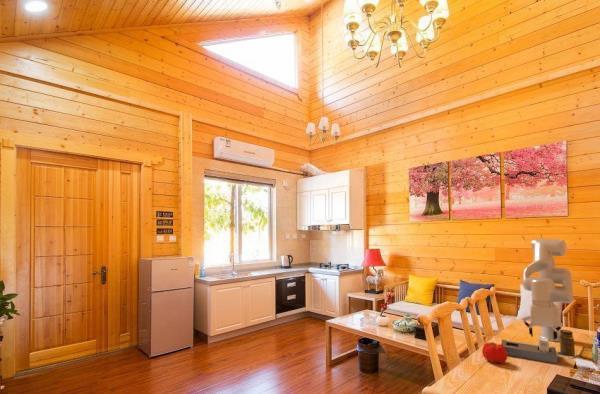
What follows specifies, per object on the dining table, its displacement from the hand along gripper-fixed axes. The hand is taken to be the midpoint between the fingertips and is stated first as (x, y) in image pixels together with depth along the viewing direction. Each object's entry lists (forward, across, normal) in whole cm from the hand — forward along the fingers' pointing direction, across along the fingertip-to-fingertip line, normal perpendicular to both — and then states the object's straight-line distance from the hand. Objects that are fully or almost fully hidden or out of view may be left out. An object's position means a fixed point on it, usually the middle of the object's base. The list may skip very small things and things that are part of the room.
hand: (543, 337), depth 175 cm
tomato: (+11, +21, +19) cm, 30 cm away
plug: (+10, 0, -1) cm, 10 cm away
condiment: (+10, -10, -13) cm, 19 cm away
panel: (+10, +7, -1) cm, 12 cm away
